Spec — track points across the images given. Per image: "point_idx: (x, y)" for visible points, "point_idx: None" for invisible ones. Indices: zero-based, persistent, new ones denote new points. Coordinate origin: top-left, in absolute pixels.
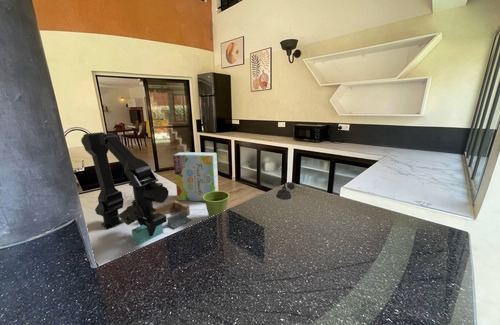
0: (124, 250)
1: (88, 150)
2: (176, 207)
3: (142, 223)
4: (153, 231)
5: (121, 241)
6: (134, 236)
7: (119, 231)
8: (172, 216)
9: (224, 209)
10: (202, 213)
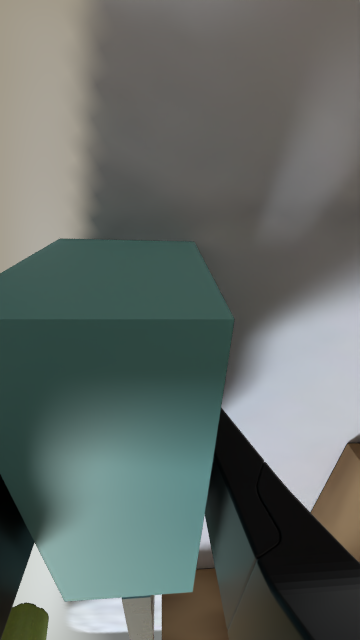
0: (87, 30)
1: None
2: None
3: (227, 517)
4: None
5: (338, 145)
6: (133, 268)
7: None
8: (134, 614)
9: None
10: (115, 602)
